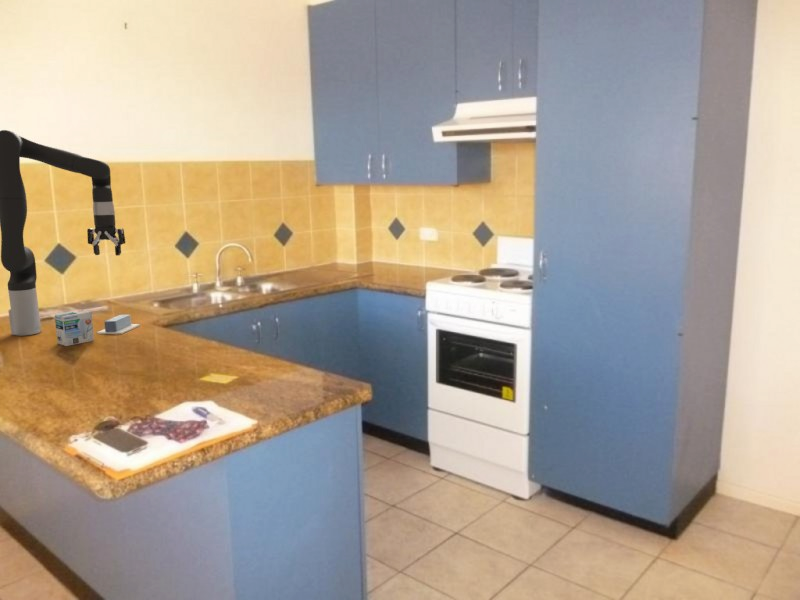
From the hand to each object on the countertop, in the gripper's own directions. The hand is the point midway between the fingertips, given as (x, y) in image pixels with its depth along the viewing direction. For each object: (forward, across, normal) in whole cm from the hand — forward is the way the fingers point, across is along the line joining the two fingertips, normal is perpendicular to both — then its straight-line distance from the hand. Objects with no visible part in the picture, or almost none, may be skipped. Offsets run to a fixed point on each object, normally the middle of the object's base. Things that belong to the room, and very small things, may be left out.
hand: (107, 255), depth 263 cm
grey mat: (+28, +6, -7) cm, 30 cm away
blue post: (+26, +6, -1) cm, 26 cm away
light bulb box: (+28, +1, -26) cm, 39 cm away
